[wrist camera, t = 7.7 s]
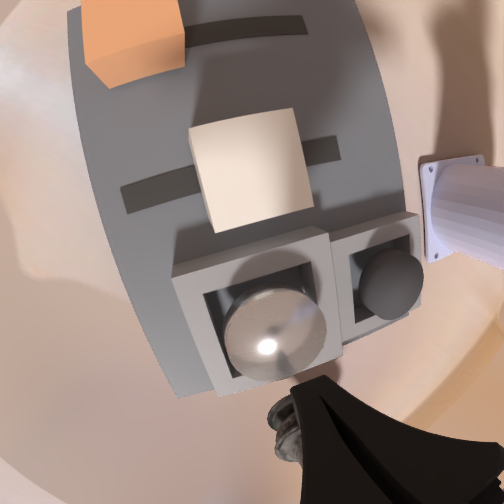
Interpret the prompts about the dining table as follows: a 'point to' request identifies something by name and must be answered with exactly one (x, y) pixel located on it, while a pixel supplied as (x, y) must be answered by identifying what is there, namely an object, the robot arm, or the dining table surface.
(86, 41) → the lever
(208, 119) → the panel
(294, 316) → the button silver
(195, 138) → the lever middle
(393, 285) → the button black
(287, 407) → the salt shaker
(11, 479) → the dining table surface
